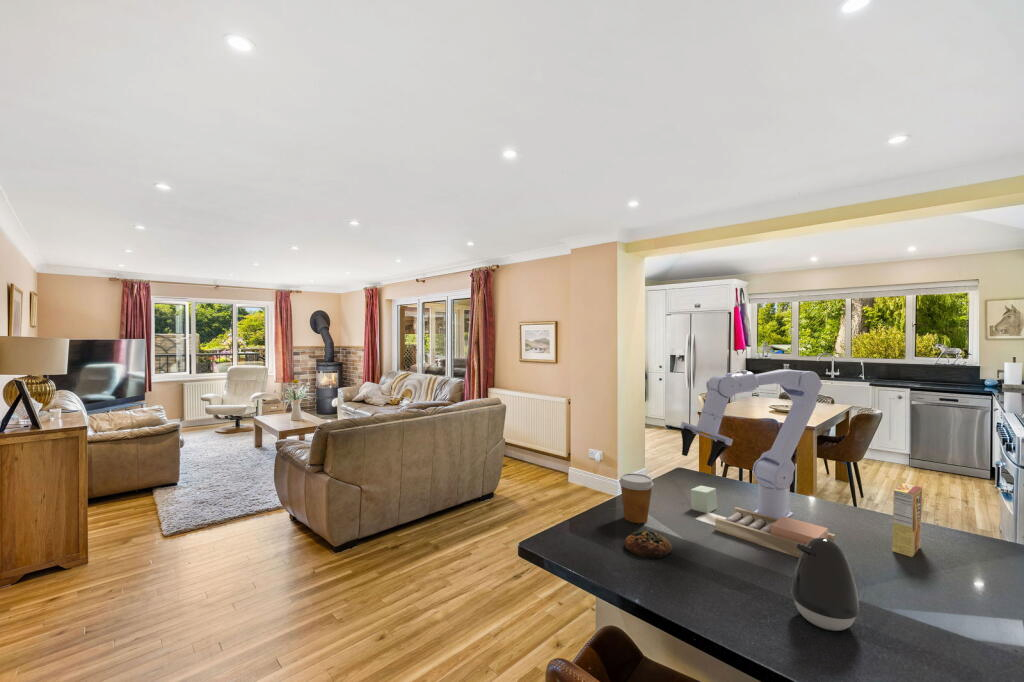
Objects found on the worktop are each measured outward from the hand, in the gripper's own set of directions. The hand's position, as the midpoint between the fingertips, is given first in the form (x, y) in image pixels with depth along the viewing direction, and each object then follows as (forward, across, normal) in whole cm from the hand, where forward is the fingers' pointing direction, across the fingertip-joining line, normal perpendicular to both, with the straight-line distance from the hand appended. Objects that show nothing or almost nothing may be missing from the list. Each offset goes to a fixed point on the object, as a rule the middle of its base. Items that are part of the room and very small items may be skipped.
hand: (696, 460), depth 129 cm
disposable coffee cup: (+22, -8, -8) cm, 24 cm away
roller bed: (+12, +18, +8) cm, 23 cm away
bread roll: (+24, +4, -20) cm, 32 cm away
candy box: (+2, +45, +25) cm, 52 cm away
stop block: (+14, +1, +14) cm, 20 cm away
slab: (+8, +27, +7) cm, 29 cm away
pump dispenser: (+17, +41, -23) cm, 50 cm away
